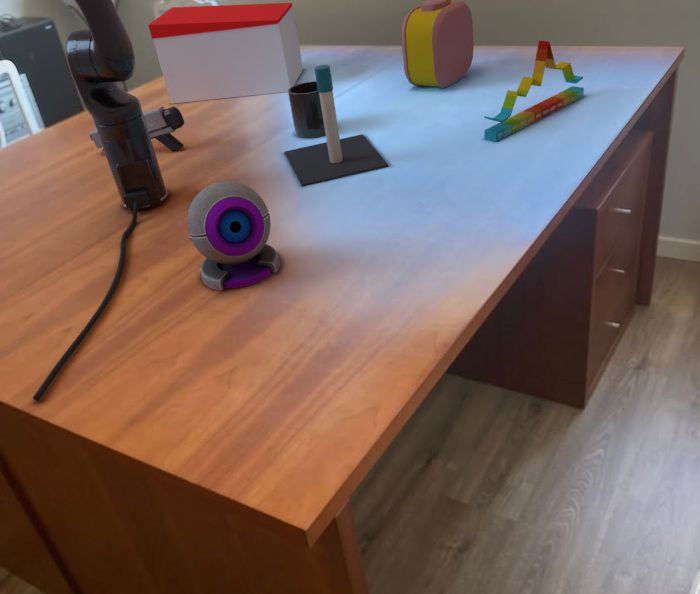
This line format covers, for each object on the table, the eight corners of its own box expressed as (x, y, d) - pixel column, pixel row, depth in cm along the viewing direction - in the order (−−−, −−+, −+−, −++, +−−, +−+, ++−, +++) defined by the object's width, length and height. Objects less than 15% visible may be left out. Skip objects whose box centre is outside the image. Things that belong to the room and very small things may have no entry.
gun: (192, 145, 168) (172, 104, 163) (108, 172, 178) (86, 134, 173) (197, 141, 170) (177, 100, 165) (113, 168, 180) (92, 130, 175)
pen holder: (337, 132, 166) (331, 88, 160) (299, 141, 165) (291, 97, 159) (329, 121, 173) (322, 78, 167) (292, 129, 172) (284, 86, 166)
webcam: (213, 299, 113) (187, 211, 104) (194, 265, 123) (169, 182, 114) (290, 273, 116) (271, 186, 107) (265, 242, 126) (247, 160, 117)
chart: (496, 141, 149) (495, 66, 140) (484, 138, 151) (482, 64, 142) (584, 96, 163) (588, 25, 154) (572, 94, 165) (575, 24, 156)
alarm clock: (440, 69, 195) (435, -10, 184) (476, 71, 189) (474, -10, 178) (403, 91, 184) (396, 9, 172) (441, 94, 178) (436, 9, 166)
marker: (344, 161, 150) (331, 67, 139) (331, 164, 150) (316, 70, 139) (341, 156, 153) (327, 63, 141) (327, 159, 152) (312, 66, 141)
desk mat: (388, 166, 146) (388, 164, 146) (302, 186, 144) (301, 184, 144) (362, 135, 162) (362, 134, 162) (284, 153, 160) (284, 151, 160)
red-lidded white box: (190, 81, 219) (171, 7, 207) (302, 69, 214) (290, -8, 201) (169, 104, 203) (147, 25, 191) (290, 91, 197) (275, 9, 185)
